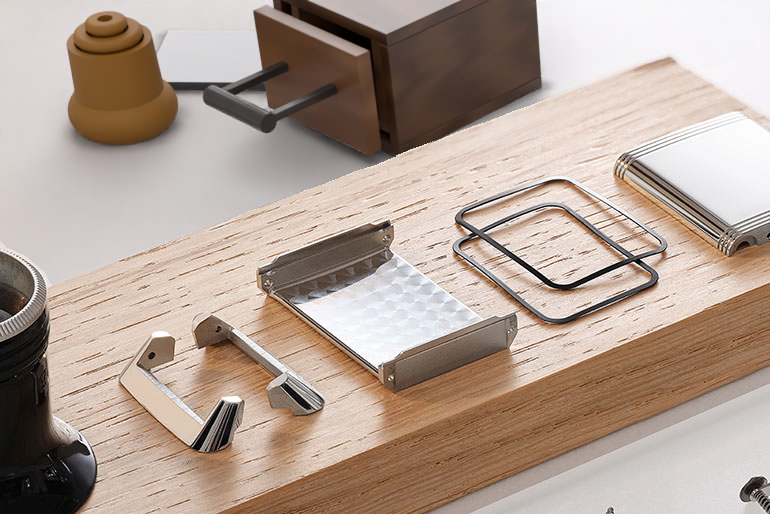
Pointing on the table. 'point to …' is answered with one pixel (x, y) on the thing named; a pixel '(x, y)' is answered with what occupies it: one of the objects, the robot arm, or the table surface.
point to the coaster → (208, 58)
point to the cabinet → (441, 59)
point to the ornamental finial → (117, 82)
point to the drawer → (312, 80)
